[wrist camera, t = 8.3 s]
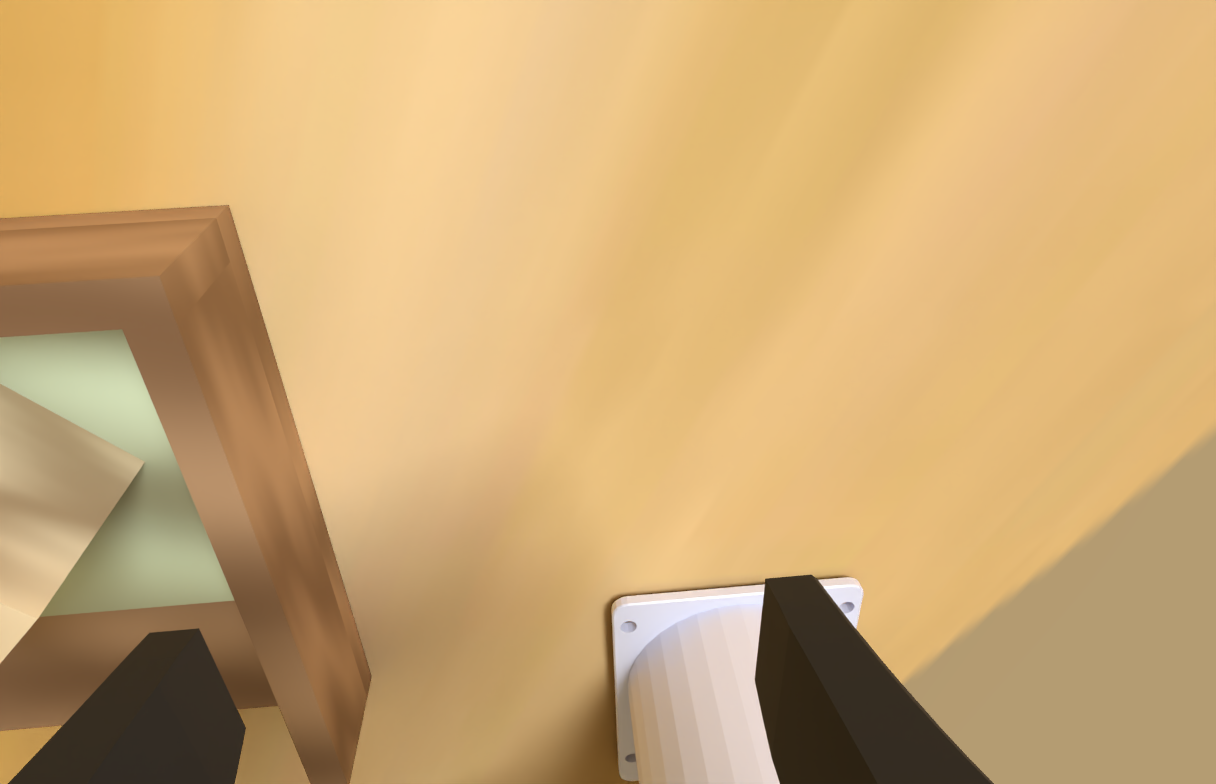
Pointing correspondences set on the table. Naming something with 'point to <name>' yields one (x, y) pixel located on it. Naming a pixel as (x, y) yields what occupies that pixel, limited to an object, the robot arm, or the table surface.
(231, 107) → the table surface
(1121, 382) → the table surface
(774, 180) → the table surface
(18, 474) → the block
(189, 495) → the arena
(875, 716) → the robot arm
